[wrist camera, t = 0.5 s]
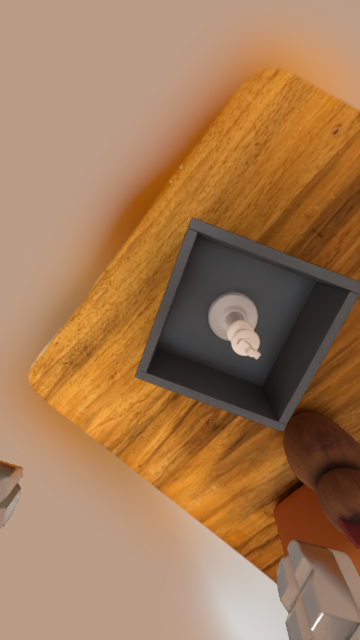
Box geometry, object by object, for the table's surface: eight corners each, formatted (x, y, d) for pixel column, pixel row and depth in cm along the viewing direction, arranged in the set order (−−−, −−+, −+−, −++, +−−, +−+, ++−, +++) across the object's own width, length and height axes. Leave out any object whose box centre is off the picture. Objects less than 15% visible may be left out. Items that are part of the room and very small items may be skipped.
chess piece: (234, 348, 28) (254, 401, 18) (197, 320, 27) (196, 358, 17) (267, 312, 26) (307, 348, 17) (229, 281, 26) (247, 300, 16)
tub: (193, 225, 26) (191, 216, 19) (323, 276, 26) (366, 284, 19) (149, 348, 29) (134, 377, 22) (264, 391, 29) (282, 432, 23)
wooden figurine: (347, 417, 29) (491, 579, 15) (320, 457, 31) (427, 638, 16) (291, 395, 29) (383, 536, 15) (267, 435, 31) (329, 600, 16)
